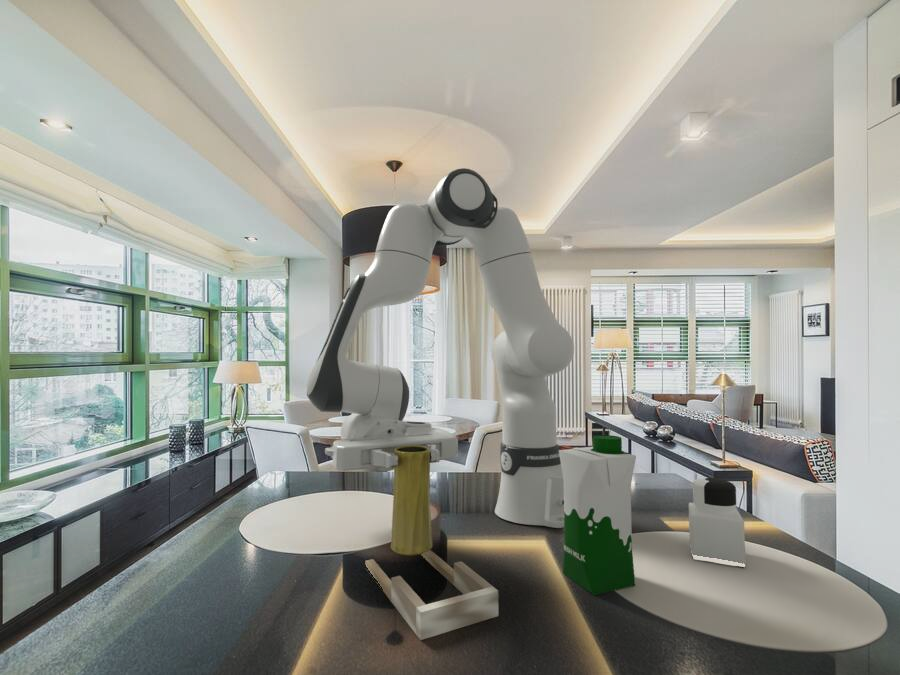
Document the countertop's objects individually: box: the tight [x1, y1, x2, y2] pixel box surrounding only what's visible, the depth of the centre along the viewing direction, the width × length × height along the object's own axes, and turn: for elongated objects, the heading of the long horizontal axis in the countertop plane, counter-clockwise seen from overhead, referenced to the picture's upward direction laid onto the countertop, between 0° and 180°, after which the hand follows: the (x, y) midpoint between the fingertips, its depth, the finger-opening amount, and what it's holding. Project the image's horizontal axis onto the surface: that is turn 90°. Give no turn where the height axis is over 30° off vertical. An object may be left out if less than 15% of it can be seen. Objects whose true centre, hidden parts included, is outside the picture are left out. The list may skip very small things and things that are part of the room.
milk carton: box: [559, 434, 637, 596], centre depth 65 cm, size 9×9×20 cm
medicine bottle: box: [688, 476, 746, 564], centre depth 73 cm, size 7×7×12 cm
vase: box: [390, 445, 434, 556], centre depth 66 cm, size 6×6×14 cm
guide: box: [364, 549, 499, 641], centre depth 61 cm, size 10×20×3 cm, turn 28°
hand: (414, 459), depth 65 cm, fingers closed on vase, 5 cm apart
